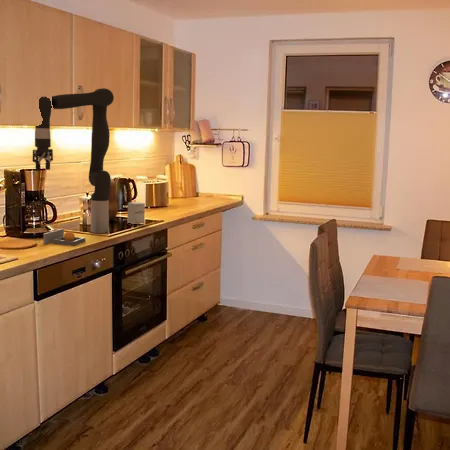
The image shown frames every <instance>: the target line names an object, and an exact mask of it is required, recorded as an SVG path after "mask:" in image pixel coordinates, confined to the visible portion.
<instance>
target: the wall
mask: <svg viewBox="0 0 450 450" xmlns="http://www.w3.org/2000/svg"><path fill="white" fill-rule="evenodd" d="M64 230H65V229H64V228H58V229H55V230H52V231H48V232H44V233H43V234H42V235H43V239H42V240H43V245H47V244H50V243H51V244H52V243H53V239H56V238H60V237H63V236H64V234H65V231H64Z"/></svg>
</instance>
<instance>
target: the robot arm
mask: <svg viewBox="0 0 450 450" xmlns="http://www.w3.org/2000/svg"><path fill="white" fill-rule="evenodd" d="M51 96H52V105H53V108H54V109H53V110H65V109H66V110H67V109H73V108H81V107H85V106H92V122H91V126H92V127H91V141H90V142H91V148H90V163H89V171H88V182H89V183H90V185H91V186H93V187H94V191H93V193H92V194H91V195H90V232H91V233H94V234H105V232H107V233H109V222H110V220H109V214H108V210H109V195H110V188H111V179H112V177H111V175H110V172H108V171H107V170H104V161H105V157H106V155H107V152H108V150H109V147H110V146H109V145H110V127H109V122H108V118H107V116H108V115H107V112H108V111H107V109H108V106H111V104H113V102H114V98H115V97H114V93H113V91H112V90H110V89H109V88H97V89H95V90H94V91H91V92H85V93H84V92H83V93H65V94H58V95H57V94H56V95H51ZM40 97H41V98H40V99H39V109H40V112H41V116H42V118H43V121H42V124H41V125H39V126H34V127H35V129H34V147H35V148H36V149H33V150H32V162H33V163H35V171H37V172H40V171H41V162H42V161H43V159H44V161H45V170H48V171H50V170H51V163H52V162H53V160H54V154H53V149H52V148H51V146H52V143H51V140H52V139H51V138H52V135H51V134H52V133H51V115H52V110H51V108H52V106H51V101H50V99H49V98H47V97H46V96H40Z"/></svg>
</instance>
